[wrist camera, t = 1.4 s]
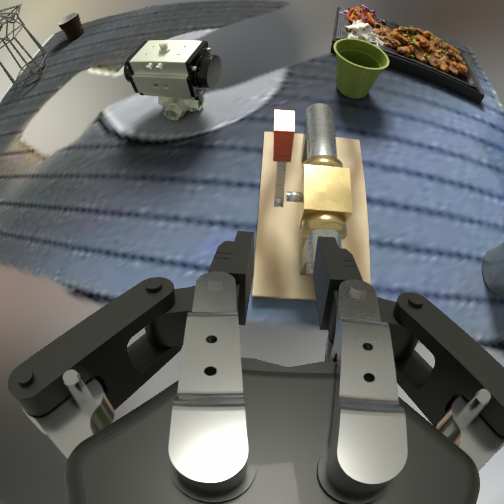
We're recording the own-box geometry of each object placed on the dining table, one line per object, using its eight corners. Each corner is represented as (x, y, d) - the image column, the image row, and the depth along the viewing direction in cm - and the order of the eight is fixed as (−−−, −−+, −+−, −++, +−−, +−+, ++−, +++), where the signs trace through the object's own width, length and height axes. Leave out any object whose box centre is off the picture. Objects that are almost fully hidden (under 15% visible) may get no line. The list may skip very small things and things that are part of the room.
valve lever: (285, 191, 41) (294, 109, 26) (284, 211, 41) (294, 133, 25) (272, 191, 42) (274, 108, 26) (271, 210, 41) (273, 131, 25)
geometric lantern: (47, 79, 69) (-2, 11, 35) (15, 98, 69) (-35, 39, 35) (57, 55, 73) (18, -9, 40) (26, 73, 73) (-15, 16, 40)
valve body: (329, 144, 52) (341, 101, 41) (333, 286, 44) (354, 267, 33) (286, 141, 52) (289, 96, 41) (280, 283, 45) (285, 263, 34)
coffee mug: (83, 36, 76) (74, 18, 66) (64, 45, 75) (55, 27, 66) (90, 23, 79) (82, 6, 69) (72, 31, 79) (63, 15, 69)
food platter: (330, 52, 64) (335, 22, 54) (335, 17, 70) (339, -8, 61) (478, 105, 58) (493, 82, 49) (461, 60, 65) (471, 39, 55)
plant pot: (382, 108, 56) (397, 72, 46) (332, 105, 57) (341, 66, 46) (368, 75, 60) (378, 41, 49) (322, 72, 60) (327, 35, 50)
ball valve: (138, 118, 58) (109, 60, 41) (156, 92, 60) (133, 34, 43) (212, 129, 56) (196, 60, 39) (228, 101, 58) (217, 34, 41)
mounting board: (357, 144, 53) (359, 139, 52) (367, 302, 45) (370, 300, 43) (264, 136, 55) (264, 131, 53) (252, 296, 46) (252, 295, 44)
